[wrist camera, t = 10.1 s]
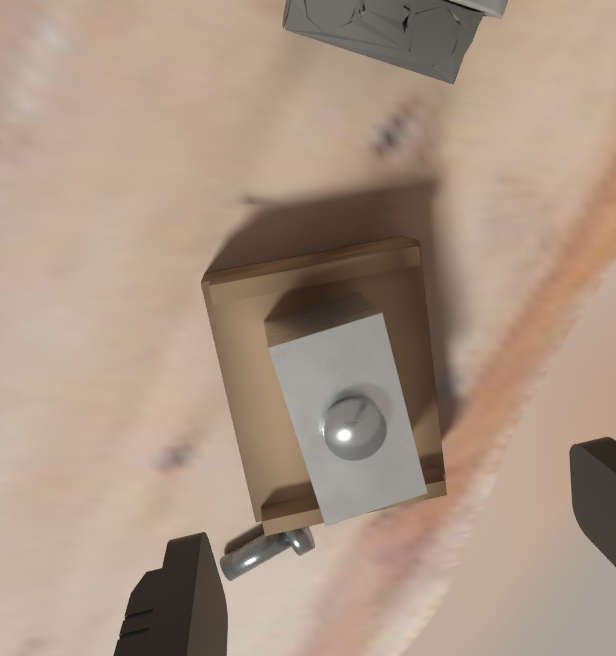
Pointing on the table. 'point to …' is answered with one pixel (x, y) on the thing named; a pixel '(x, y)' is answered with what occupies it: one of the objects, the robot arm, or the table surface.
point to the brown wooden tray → (262, 382)
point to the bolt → (265, 550)
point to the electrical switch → (396, 29)
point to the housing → (346, 406)
